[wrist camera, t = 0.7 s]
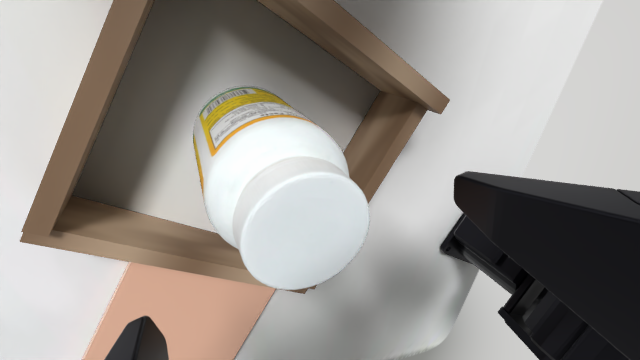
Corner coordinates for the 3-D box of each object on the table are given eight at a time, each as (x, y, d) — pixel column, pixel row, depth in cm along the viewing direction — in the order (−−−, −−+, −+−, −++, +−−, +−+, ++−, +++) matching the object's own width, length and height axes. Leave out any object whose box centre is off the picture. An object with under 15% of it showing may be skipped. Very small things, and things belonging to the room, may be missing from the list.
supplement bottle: (212, 66, 15) (261, 114, 7) (308, 108, 18) (419, 176, 10) (177, 167, 16) (184, 304, 8) (271, 191, 19) (344, 312, 11)
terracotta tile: (276, 278, 22) (278, 284, 21) (224, 363, 23) (226, 371, 23) (134, 249, 17) (133, 256, 17) (81, 359, 19) (79, 369, 18)
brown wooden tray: (396, 85, 19) (449, 100, 16) (289, 263, 22) (313, 312, 18) (166, -94, 12) (164, -145, 8) (45, 204, 15) (2, 266, 11)
